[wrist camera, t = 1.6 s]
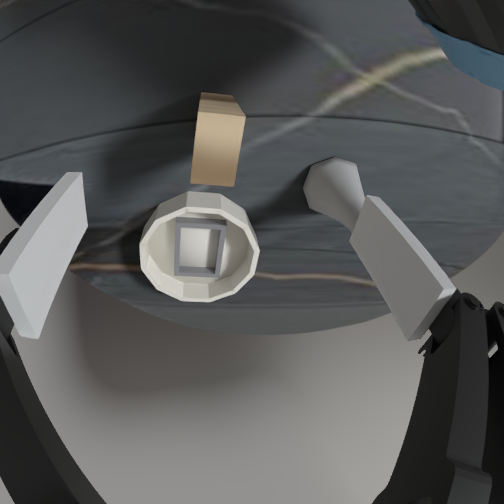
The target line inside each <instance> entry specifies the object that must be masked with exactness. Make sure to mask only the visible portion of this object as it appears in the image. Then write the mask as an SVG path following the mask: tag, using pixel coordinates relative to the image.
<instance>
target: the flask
mask: <svg viewBox="0 0 504 504" xmlns="http://www.w3.org/2000/svg"><path fill="white" fill-rule="evenodd" d="M303 190H304V193H305V196H306V200H307V203H308V206H309V208H310V209H312V210H314V211H317V212H319V213H322V214H324V215H327V216H329V217H331V218H333V219H335V220H337V221H339V222H341V223H342V224H343V225H344V226H346V227H347V228H348V229H349V230H350V231H351V232H352V233H353V230H354V227H355V225H356V222H357V220H358V217H359V214H360V212H361V209H362V206H363V203H364V201H365V197H364V194H363V190H362V186H361V183H360V179H359V174H358V170H357V166H356V164H355V163H352V162H349V161H346V160H343V159H340V158H337V157H333V158H330V159H327V160H325V161H322V162H319V163H316V164H314V165H311V168H310V170H309V173H308V176H307V178H306V181H305V183H304V186H303Z"/></svg>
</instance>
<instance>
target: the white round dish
mask: <svg viewBox="0 0 504 504" xmlns="http://www.w3.org/2000/svg"><path fill="white" fill-rule="evenodd" d="M259 252H260V250H259V246H258V242H257V239H256V235H255V232H254V230H253V227H252V225H251V223H250V221H249V218H248V216H247V214H246V212H245V210H244V209H243V208H241V207H240V206H238V205H237V204H235V203H233V202H232V201H230V200H229V199H227V198H226V197H224V196H223V195H221V194H218V193H205V192H191V191H188V192H185V193H182V194H180V195H178V196H176V197H174V198H171V199H169V200H167V201H165V202H163V203H160V204H159V205H158V207H157V208H156V210H155V211H154V213H153V214H152V216H151V217H150V219H149V220H148V222H147V223H146V225H145V226H144V229H143V233H142V237H141V240H140V261H141V270H142V271H143V272H144V274H145V275H146V276H147V278H148V279H149V280H150V281H151V283H152V284H153V285H154V287H155V288H156V289H157V290H159V291H161V292H163V293H165V294H168V295H170V296H172V297H174V298H176V299H178V300H181V301H194V302H212V301H214V300H217V299H220V298H223V297H226V296H229V295H231V294H234V293H236V292H237V291H238V290H239V289H240V288H241V287H242V286H243V285H244V284H245V283H246V282H247V281H248V280H249V279H250V278H251V277H252V276H253V275H254V273H255V269H256V265H257V260H258V256H259Z"/></svg>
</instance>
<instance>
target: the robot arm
mask: <svg viewBox="0 0 504 504" xmlns="http://www.w3.org/2000/svg"><path fill="white" fill-rule="evenodd" d="M408 1H409V2H410V3H411V5H412V6H413V8H414V9H415V11H416V13H415V14H416V16H417V18H418V19H419V21H420V22H421V23H422V24H423V25H424V26H425V27H426V28H428V29H429V30H430V32H431V33H432V35H433V36H434V38H435V39H436V41H437V42H438V44H439V45H440V47H441V48H442V50H443V52H444V53H445V55H446V56H447V57H448V59H449V60H450V61H451V62H452V63H453V64H454V65H455V66H456V67H457V68H458V69H460V70H461V71H462V72H464V73H465V74H467V75H469V76H470V77H472V78H476V79H478V80H479V81H481V82H482V83H483V84H486V85H488V86H491V87H494V88H497V89H500V90H503V91H504V0H408ZM87 227H88V223H87V216H86V208H85V200H84V190H83V180H82V172H67V173H66V174H65V175H64V176H63V177H62V178H61V179H60V180H59V181H58V183H57V184H56V185H55V186H54V187H53V188H52V189H51V190H50V192H49V193H48V194H47V195H46V196H45V197H44V199H43V200H42V201H41V202H40V203H39V205H38V206H37V207H36V208H35V209H34V211H33V212H32V213H31V214H30V216H29V217H28V218H27V219H26V221H25V222H24V223H23V225H22V226H21V227H20V228H16V229H14V230H13V231H12V232H10V233H9V234H8V235H7V236H6V237H5V238H4V239H3V241H2V242H1V244H0V477H1V479H2V481H3V483H4V485H5V487H6V488H7V490H8V492H9V494H10V496H11V498H12V500H13V501H14V503H15V504H106V502H104V500H103V499H102V497H101V496H100V495H99V494H98V492H97V491H96V490H95V489H94V487H93V486H92V485H91V483H90V482H89V481H88V479H87V478H86V476H85V475H84V474H83V472H82V471H81V469H80V468H79V466H78V465H77V464H76V462H75V461H74V459H73V458H72V456H71V455H70V453H69V451H68V450H67V448H66V447H65V445H64V444H63V442H62V440H61V439H60V437H59V435H58V433H57V432H56V430H55V428H54V426H53V425H52V423H51V421H50V419H49V417H48V415H47V414H46V412H45V410H44V408H43V406H42V404H41V402H40V401H39V398H38V396H37V394H36V392H35V390H34V387H33V385H32V383H31V381H30V379H29V376H28V374H27V372H26V369H25V367H24V365H23V362H22V360H21V357H20V355H19V352H18V349H17V347H16V344H15V341H14V339H13V337H12V335H11V334H10V333H11V331H12V328H13V326H14V325H15V327H16V329H17V331H18V333H19V334H20V336H23V337H29V338H34V339H38V338H39V336H40V333H41V330H42V327H43V325H44V322H45V319H46V317H47V314H48V311H49V309H50V306H51V304H52V301H53V299H54V297H55V294H56V292H57V289H58V287H59V285H60V282H61V280H62V278H63V276H64V274H65V271H66V269H67V267H68V265H69V263H70V261H71V259H72V256H73V254H74V252H75V250H76V248H77V246H78V244H79V242H80V240H81V238H82V236H83V235H84V233H85V231H86V229H87ZM349 242H350V243H351V245H352V246H353V248H354V250H355V251H356V253H357V254H358V256H359V258H360V259H361V261H362V262H363V264H364V266H365V267H366V269H367V271H368V272H369V274H370V276H371V277H372V279H373V281H374V282H375V284H376V286H377V287H378V289H379V291H380V293H381V294H382V296H383V298H384V300H385V301H386V303H387V305H388V307H389V308H390V310H391V312H392V314H393V316H394V317H395V319H396V321H397V323H398V325H399V326H400V328H401V330H402V332H403V334H404V336H405V338H406V340H407V341H410V340H417V339H421V338H422V336H423V335H424V334H425V333H426V331H427V330H428V329H429V330H430V331H431V333H432V335H431V336H430V337H429V339H428V340H427V341H426V342H425V344H424V345H423V346H422V348H420V350H419V352H418V353H419V354H420V353H421V352H422V351H423V350H426V352H425V354H424V355H423V356H424V357H425V358H424V363H423V368H422V374H421V378H420V383H419V387H418V391H417V396H416V400H415V404H414V407H413V411H412V415H411V419H410V422H409V425H408V429H407V432H406V435H405V439H404V442H403V445H402V448H401V451H400V454H399V457H398V459H397V462H396V465H395V468H394V470H393V473H392V476H391V478H390V481H389V483H388V485H387V486H386V488H385V489H384V490H383V491H382V492H381V493H380V494H379V495H378V496H377V497H376V499H375V500H374V501H373V503H372V504H504V304H502V303H501V302H495V303H494V305H493V307H491V309H490V310H487V309H484V307H483V305H482V304H481V302H480V301H479V300H478V299H477V298H476V297H475V296H473V295H471V294H469V293H462V294H461V293H460V292H459V290H458V289H457V288H456V286H455V285H454V284H453V282H452V281H451V280H450V278H449V277H448V276H447V274H446V273H444V271H443V269H442V268H441V267H440V266H439V264H438V263H437V262H436V261H435V259H434V258H433V257H432V256H431V255H430V254H429V253H428V251H427V250H426V249H425V248H424V247H423V245H422V244H421V243H420V242H419V241H418V240H417V238H416V237H415V236H414V235H413V234H412V233H411V231H410V230H409V229H408V228H407V227H406V226H405V225H404V224H403V222H402V221H401V220H400V219H399V218H398V217H397V216H396V215H395V214H394V213H393V211H392V210H391V209H390V208H389V207H388V206H387V205H386V204H385V203H384V202H383V201H382V200H381V199H380V198H379V197H375V196H369V195H366V198H365V201H364V203H363V206H362V209H361V212H360V214H359V217H358V220H357V222H356V225H355V227H354V230H353V233H352V235H351V238H350V240H349ZM496 344H497V346H498V350H497V351H496V352H495V353H494V354H493V355H492V356H491V357H490V358H489V356H488V353H489V351H490V350H491V349H492V348H493V347H494V346H495V345H496Z"/></svg>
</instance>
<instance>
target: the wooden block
mask: <svg viewBox="0 0 504 504" xmlns="http://www.w3.org/2000/svg"><path fill="white" fill-rule="evenodd" d="M245 118H246V117H245V115H244V113H243V112H242V110H241V108H240V107H239V105H238V104H237V102H236V101H235V99H234V97H233V96H232V95H226V94H217V93H207V92H201V97H200V103H199V110H198V118H197V126H196V134H195V143H194V152H193V161H192V171H191V182H190V183H195V184H208V185H221V186H232V187H234V183H235V176H236V170H237V164H238V158H239V153H240V147H241V141H242V135H243V129H244V124H245Z"/></svg>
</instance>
